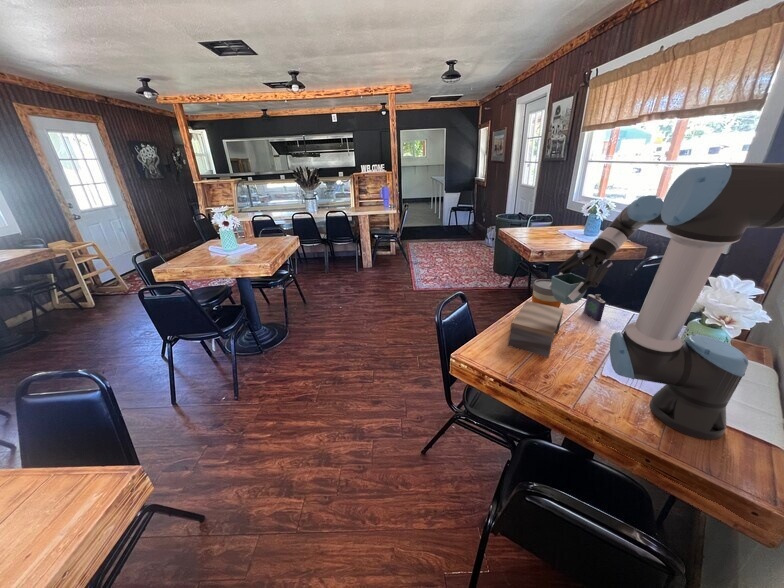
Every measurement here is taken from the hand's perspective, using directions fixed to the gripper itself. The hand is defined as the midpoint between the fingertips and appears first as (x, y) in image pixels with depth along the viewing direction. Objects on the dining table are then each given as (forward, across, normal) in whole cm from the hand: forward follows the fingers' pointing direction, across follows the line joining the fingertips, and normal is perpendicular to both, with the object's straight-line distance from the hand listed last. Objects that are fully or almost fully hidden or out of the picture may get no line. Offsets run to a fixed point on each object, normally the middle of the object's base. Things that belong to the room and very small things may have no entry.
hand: (560, 293), depth 111 cm
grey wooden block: (+17, +5, -12) cm, 22 cm away
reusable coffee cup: (+6, +19, -24) cm, 32 cm away
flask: (-7, +12, -38) cm, 41 cm away
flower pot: (+1, 0, -5) cm, 5 cm away
